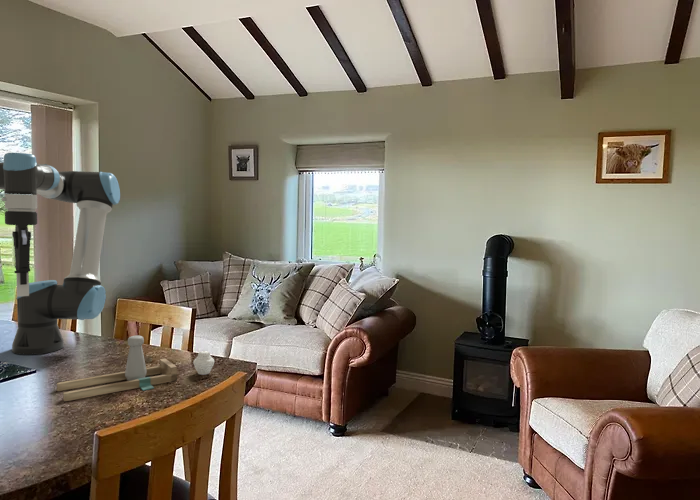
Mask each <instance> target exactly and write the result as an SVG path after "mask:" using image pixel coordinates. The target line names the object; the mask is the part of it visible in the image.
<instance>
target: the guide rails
mask: <svg viewBox="0 0 700 500" xmlns="http://www.w3.org/2000/svg"><path fill="white" fill-rule="evenodd" d="M146 371H147V373H146V376H145V378H140V379H136V380H131V381H128V380H127V378H126V376H125V371H120V372H113V373H107V374H103V375H101V374H100V375H96V376H90V377H84V378H83V377H82V378H77V379H71V380H67V381H61V382H60V381H59V382H56V390H57V392H62V394H63V395H62V397H63V399H62V400H63V401H64V402H69V401H74V400H79V399H80V400H81V399H84V398H85V399H86V398H89V397H95V396H101V395H106V394H112V393H116V392H121V391H123V392H124V391H128V390H133V389H137V388H140V390H142V391H149V390H153V389H155V387H154V386H155V385H158V384H159V385H160V384H164V383H171V382H175V381H177V380H178V366H176V365H175V364H174V363H172V362H171V361H169V360H168V359H167V358H160V359H159V365H155V366H151V367H146ZM159 374H160V375H159ZM153 375H155V376H153ZM123 380H124V381H123ZM125 380H126V381H125ZM108 383H110V384H108ZM103 384H104V385H103ZM89 386H93V387H89ZM85 387H87V388H85ZM80 388H82V389H80ZM74 389H76V390H74ZM68 390H70V391H68Z"/></svg>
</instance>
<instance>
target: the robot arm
mask: <svg viewBox="0 0 700 500" xmlns="http://www.w3.org/2000/svg"><path fill="white" fill-rule="evenodd" d="M0 190H4V191H3V192H4V194H3V195H4V197H2V198H1V201H2V202H4V208H5V209H6V210H5V211H4V224H5V225H8V226H15V229H14V231H12V238H13V247H14V262H15V263H14V268H15V270H14V274H16V277H15V278H16V305H17V306H16V309H17V311H16V312H17V330H16V333H15V335H14V338H13V340H12V341H13V342H12V344H11V351H12V353H13V354H15V355H24V356H25V355H26V356H27V355H28V356H29V355H40V354H47V353H48V354H49V353H52V352H56V351H59V350H61V349H63V348H64V345H65V344H64V337H63V336H62V333H61V330H60V327H59V325H58V320H79V321H84V320H93V319H95V318H98V317H99V315H100V314H101V313H102V311H103V310H104V307H105V303H106V298H107V295H106V293H107V291H106V289H105V287H104V286H102V281H101V279H99V277H98V273H99V268H100V261H101V260H100V259H101V253H102V247H103V241H104V240H103V239H104V233H105V227H106V221H107V215H108V214H109V213H110V212H112V210H113V206H116V205H119V203H120V200H121V190H120V184H119V182H118V179H117V177H116V176H115V174H113V173H112V172H105V171H79V170H77V171H76V170H67V171H66V170H65V171H64V170H63V171H58V170H57V169H56V168H55V167H54V166H53V165H49V164H46V163H37V157H36V156H35V154H32V153H25V152H6V153H5V154H4V155H3V162H0ZM38 195H40V196H41V197H42V198H45V199H48V200H49V199H50V200H55V201H59V202H63V203H69V204H70V203H71V204H76V205H75V206H76V207H77V208H78V209H79V216H78V223H77V228H76V234H75V240H74V247H73V253H72V257H71V259H72V260H71V265H70V269H69V271H70V272H69V274H68V275H66V276H65V277H64V278H63V282H62V284H58V281H57V280H56V279H48V280H40V281H33V282H32V281H31V282H29V281H30V278H29V276H30V275H29V272H31V268H30V259H31V258H30V255H31V253H30V252H31V251H30V250H31V248H30V247H31V240H32V239H31V238H32V231H29V226H36V225H37V224H38V212H37V211H36V210H37V209H38Z"/></svg>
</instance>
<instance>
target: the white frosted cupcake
mask: <svg viewBox="0 0 700 500" xmlns="http://www.w3.org/2000/svg"><path fill="white" fill-rule="evenodd" d="M192 362H193V366H194V369H195V370H196V372H197V374H198V375H200V376H201V375H203V376H205V375H209V374H210V373H211V371H212V369H213V367H214V364H215V359H214V357H212V356H211V353H210V351H207V350H202V351H198V353H197V356H196V358H195V359H194V360H193V361H192Z"/></svg>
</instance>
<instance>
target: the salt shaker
mask: <svg viewBox="0 0 700 500" xmlns="http://www.w3.org/2000/svg"><path fill="white" fill-rule="evenodd" d="M144 343H145V339H144V336H142V335H131V336H129V337H128V338H127V345H128V346H129V349H128V354H127V360H126V365H125V366H126V367H125V370H124V372H125V376H126V378H127V379H126V381H131V380H136V379H140V378H145V377H147V376H146V373H147V371H146V368H147V366H146V362H145V356H144V350H143V344H144Z"/></svg>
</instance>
